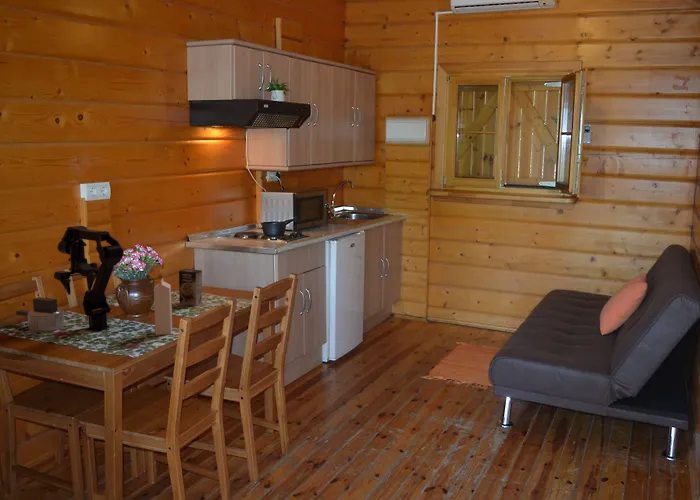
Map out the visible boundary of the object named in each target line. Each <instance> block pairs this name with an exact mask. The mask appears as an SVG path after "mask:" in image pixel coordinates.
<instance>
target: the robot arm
mask: <svg viewBox="0 0 700 500" xmlns="http://www.w3.org/2000/svg"><path fill="white" fill-rule="evenodd" d="M85 240H86V241H87V240H88V241H93V242H95V243H96V249H95V250H96V251H97V254H98V258H99V260H100V265H98V264H97V263H96V262H90V263H88V258H86V254H85V252H86V251H85V247H87V243H86V242H85ZM102 242H106V243H107V244H108V245H105V246H103V245H102ZM57 250H58V252H59V253H60V254H65V255H69V258H68V261H69V262H70V267H69V268H68V271H66V270H58V271H54V273H53V279H55V280H57V281H59V282H60V283H61V284H62V285H63V288H64V289H65V292H66V293H67V295H68V296H71V291H72V290H71V281H72V279H71V277H73V276H79V275H81V276H82V277H86V278H85V279H86V285H87V290H85V292H84V295H83V301H82V307H83V311H84V314H85V316H87V317H88V327H86V329H87V330H91V331H99V332H100V331H103V330H105V329H108V328H110V325H108V318H107V317H108V316H107V314H108V313H111V307H110V305H109V303H108V301H107V296H106V293H105V292H106V290H107V287H108V285H109V284H108V283H109V281H110V278H111V276H112V273H113V270H114V267H116V266H117V265H118V264H119V263H120V262H121V260H122V258H123V256H124V249H123V247H122V245H121V243H120V242H119V241H118V240H117V239H115V238H114V237H113V236H112V235H111V234H110V232H109V231H107V230H103V231H102V230H95V229H89V228H88V227H86V226H84V225H75V226H67V227H66V229H65V232H64V235H63V237H61V240H60V241H59V242H58V244H57Z"/></svg>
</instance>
